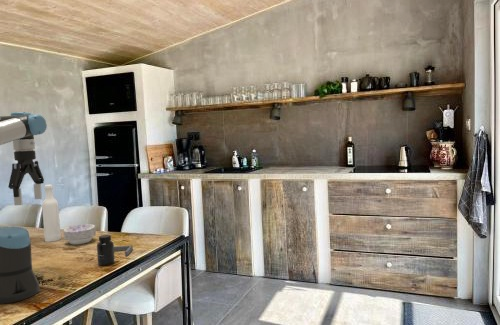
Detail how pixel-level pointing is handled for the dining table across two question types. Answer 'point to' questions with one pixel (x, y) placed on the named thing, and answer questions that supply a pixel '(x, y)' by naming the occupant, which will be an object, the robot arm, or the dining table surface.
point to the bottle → (51, 216)
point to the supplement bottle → (105, 250)
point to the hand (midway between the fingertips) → (28, 202)
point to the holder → (122, 248)
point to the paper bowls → (79, 233)
